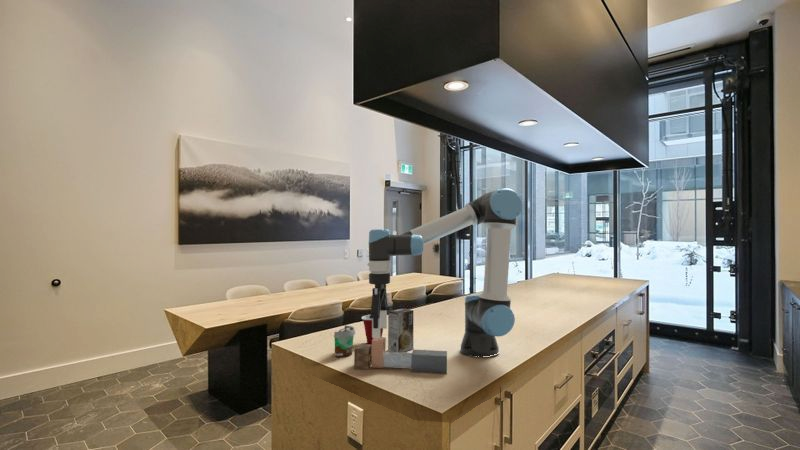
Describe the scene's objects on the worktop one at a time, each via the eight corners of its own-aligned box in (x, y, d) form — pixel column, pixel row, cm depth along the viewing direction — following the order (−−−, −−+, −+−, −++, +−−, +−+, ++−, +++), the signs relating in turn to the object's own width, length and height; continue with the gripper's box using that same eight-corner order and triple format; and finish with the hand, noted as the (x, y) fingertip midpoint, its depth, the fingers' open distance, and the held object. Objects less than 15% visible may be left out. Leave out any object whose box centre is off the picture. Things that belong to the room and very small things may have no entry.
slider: (422, 365, 135) (423, 339, 135) (421, 369, 130) (422, 342, 130) (362, 362, 137) (363, 336, 138) (359, 366, 132) (360, 339, 133)
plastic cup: (361, 340, 171) (361, 313, 171) (385, 339, 172) (385, 313, 172) (360, 346, 160) (361, 318, 160) (386, 346, 161) (386, 318, 161)
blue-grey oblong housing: (446, 368, 134) (447, 351, 134) (446, 374, 128) (446, 356, 128) (413, 366, 135) (413, 349, 136) (411, 372, 130) (411, 354, 130)
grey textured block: (371, 364, 137) (372, 344, 138) (368, 369, 131) (368, 349, 132) (358, 363, 138) (358, 344, 138) (354, 369, 132) (354, 348, 132)
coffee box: (402, 346, 162) (403, 308, 162) (413, 349, 157) (414, 310, 158) (387, 350, 155) (387, 310, 156) (398, 353, 151) (398, 312, 151)
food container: (349, 360, 142) (349, 333, 143) (333, 358, 143) (334, 332, 144) (359, 350, 154) (359, 325, 155) (344, 349, 155) (345, 325, 156)
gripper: (375, 269, 148) (376, 324, 147) (361, 275, 124) (361, 341, 123) (394, 269, 147) (395, 325, 146) (383, 275, 123) (384, 342, 122)
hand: (379, 332), depth 135 cm, fingers open, 13 cm apart
